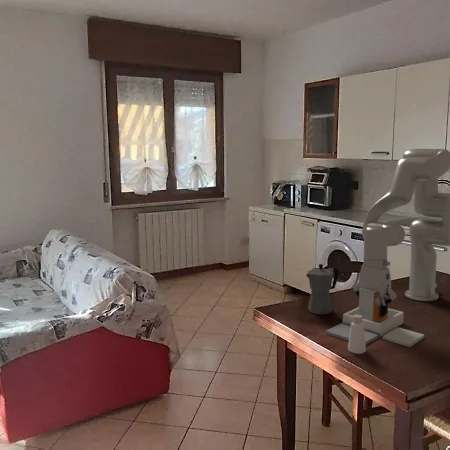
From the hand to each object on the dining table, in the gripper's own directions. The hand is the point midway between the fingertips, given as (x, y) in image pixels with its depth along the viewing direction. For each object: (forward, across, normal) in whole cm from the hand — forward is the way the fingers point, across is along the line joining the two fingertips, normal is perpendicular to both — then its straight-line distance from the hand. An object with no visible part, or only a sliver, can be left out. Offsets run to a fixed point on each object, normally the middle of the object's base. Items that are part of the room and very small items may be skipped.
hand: (373, 312), depth 163 cm
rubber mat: (+4, -13, +4) cm, 14 cm away
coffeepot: (+5, +21, 0) cm, 21 cm away
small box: (+5, 0, 0) cm, 5 cm away
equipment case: (+4, 0, +5) cm, 7 cm away
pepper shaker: (+5, -7, +22) cm, 23 cm away
